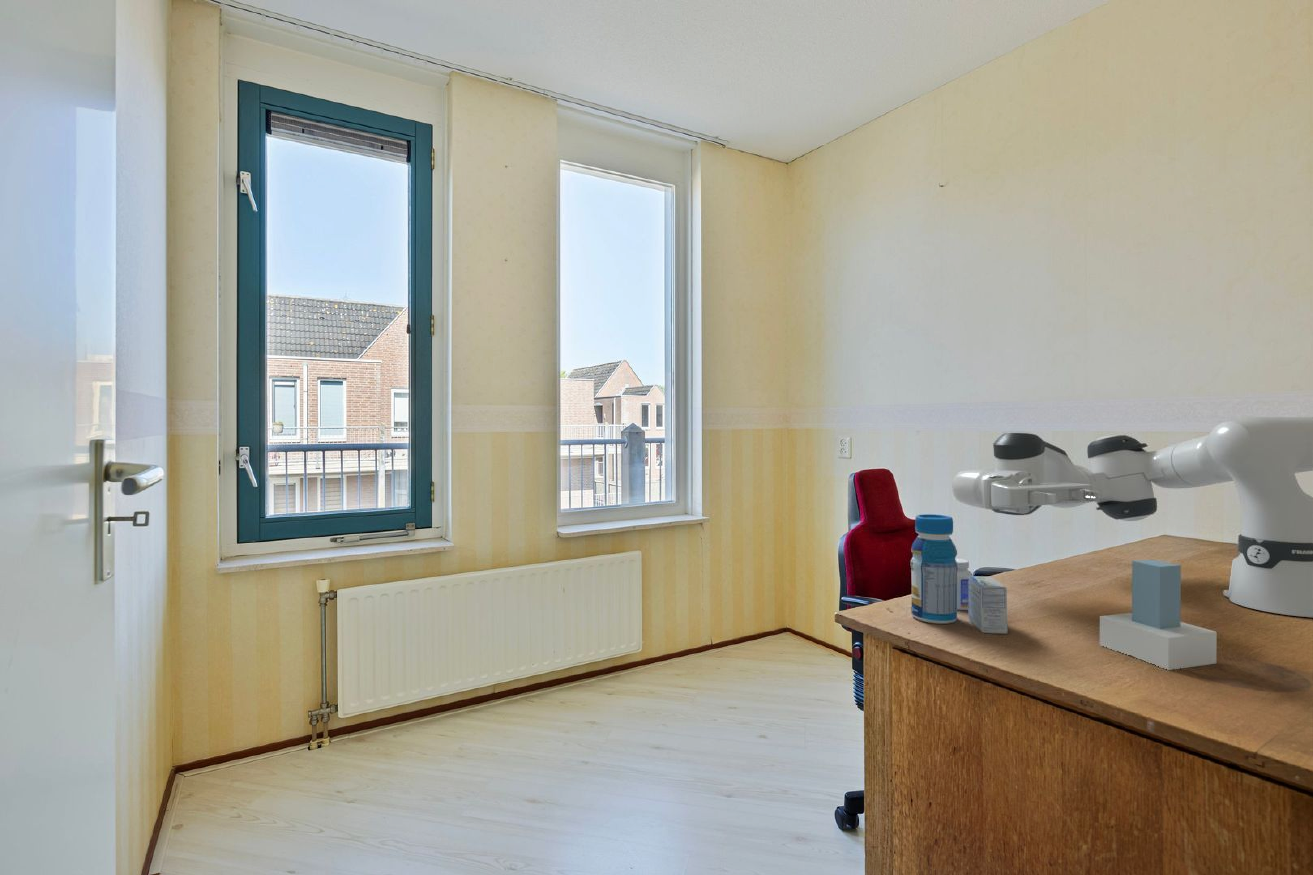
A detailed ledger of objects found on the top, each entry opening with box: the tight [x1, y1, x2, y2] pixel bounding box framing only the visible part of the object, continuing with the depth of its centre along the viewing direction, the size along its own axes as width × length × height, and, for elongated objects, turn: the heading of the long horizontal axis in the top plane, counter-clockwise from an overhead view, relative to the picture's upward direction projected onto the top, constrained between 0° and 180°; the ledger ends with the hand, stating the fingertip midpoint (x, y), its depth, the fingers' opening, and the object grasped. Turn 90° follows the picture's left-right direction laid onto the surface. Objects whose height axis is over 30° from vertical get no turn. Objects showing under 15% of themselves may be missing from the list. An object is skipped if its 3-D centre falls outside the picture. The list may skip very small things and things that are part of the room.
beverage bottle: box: [910, 513, 958, 625], centre depth 118 cm, size 8×8×20 cm
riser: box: [1099, 612, 1218, 671], centre depth 99 cm, size 10×11×5 cm
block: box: [1131, 558, 1182, 629], centre depth 99 cm, size 4×4×10 cm
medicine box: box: [968, 575, 1008, 635], centre depth 113 cm, size 8×4×9 cm, turn 168°
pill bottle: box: [955, 557, 974, 611], centre depth 126 cm, size 5×5×10 cm
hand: (1078, 497), depth 114 cm, fingers open, 8 cm apart
